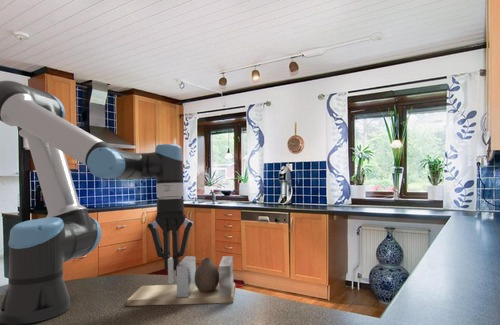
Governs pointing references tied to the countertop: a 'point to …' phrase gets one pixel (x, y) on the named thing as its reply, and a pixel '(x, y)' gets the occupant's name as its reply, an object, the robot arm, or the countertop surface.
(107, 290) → the countertop surface
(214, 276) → the vase
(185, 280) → the block
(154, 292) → the vise
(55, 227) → the robot arm
